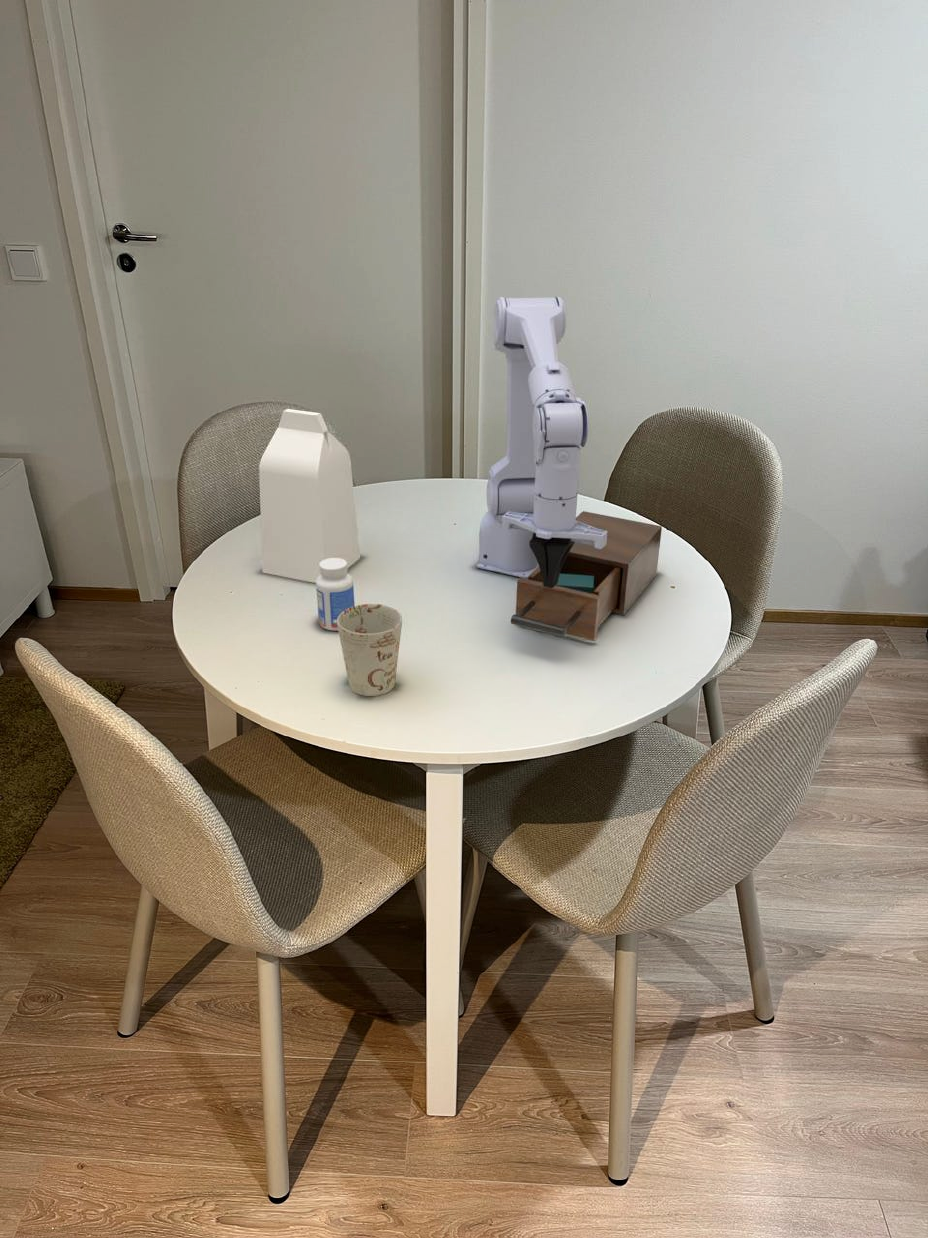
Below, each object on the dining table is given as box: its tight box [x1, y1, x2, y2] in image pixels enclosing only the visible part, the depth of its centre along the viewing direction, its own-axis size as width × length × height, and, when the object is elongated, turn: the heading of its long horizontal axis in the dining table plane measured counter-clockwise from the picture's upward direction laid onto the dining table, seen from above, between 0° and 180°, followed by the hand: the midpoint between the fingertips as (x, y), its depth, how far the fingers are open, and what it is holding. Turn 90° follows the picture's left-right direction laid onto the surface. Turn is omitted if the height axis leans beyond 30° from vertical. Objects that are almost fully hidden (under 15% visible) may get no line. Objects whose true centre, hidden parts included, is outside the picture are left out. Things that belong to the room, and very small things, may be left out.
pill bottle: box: [315, 558, 356, 632], centre depth 143 cm, size 6×5×10 cm
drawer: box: [510, 556, 623, 642], centre depth 144 cm, size 22×12×7 cm, turn 153°
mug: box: [337, 603, 403, 697], centre depth 130 cm, size 8×13×10 cm, turn 27°
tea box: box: [555, 574, 594, 594], centre depth 146 cm, size 6×4×4 cm, turn 82°
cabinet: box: [567, 510, 663, 616], centre depth 156 cm, size 17×14×9 cm
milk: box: [258, 408, 361, 584], centre depth 157 cm, size 12×12×26 cm
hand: (550, 584), depth 136 cm, fingers closed
